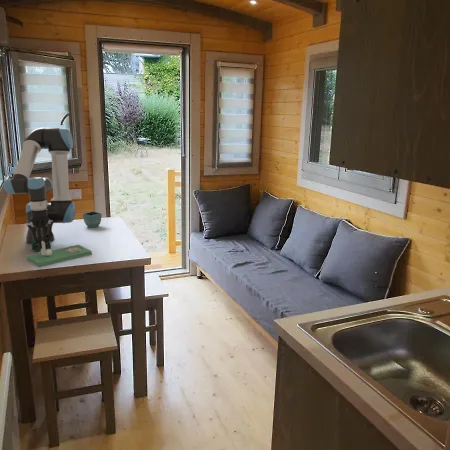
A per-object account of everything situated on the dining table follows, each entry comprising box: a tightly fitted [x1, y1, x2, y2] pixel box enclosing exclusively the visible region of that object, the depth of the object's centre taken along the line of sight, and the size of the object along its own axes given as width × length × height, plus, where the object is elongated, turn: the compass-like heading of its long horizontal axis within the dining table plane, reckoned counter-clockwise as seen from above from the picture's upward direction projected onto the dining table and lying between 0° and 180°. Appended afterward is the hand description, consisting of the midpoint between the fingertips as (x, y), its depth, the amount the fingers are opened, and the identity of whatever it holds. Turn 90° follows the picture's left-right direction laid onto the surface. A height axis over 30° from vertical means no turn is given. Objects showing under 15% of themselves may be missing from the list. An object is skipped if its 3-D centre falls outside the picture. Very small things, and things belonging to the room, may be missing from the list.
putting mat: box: [26, 244, 93, 268], centre depth 223 cm, size 15×28×2 cm, turn 134°
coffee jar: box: [29, 217, 51, 252], centre depth 232 cm, size 10×8×19 cm
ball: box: [46, 248, 52, 256], centre depth 218 cm, size 4×4×4 cm
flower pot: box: [82, 211, 102, 229], centre depth 279 cm, size 9×9×9 cm
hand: (43, 254), depth 216 cm, fingers closed
